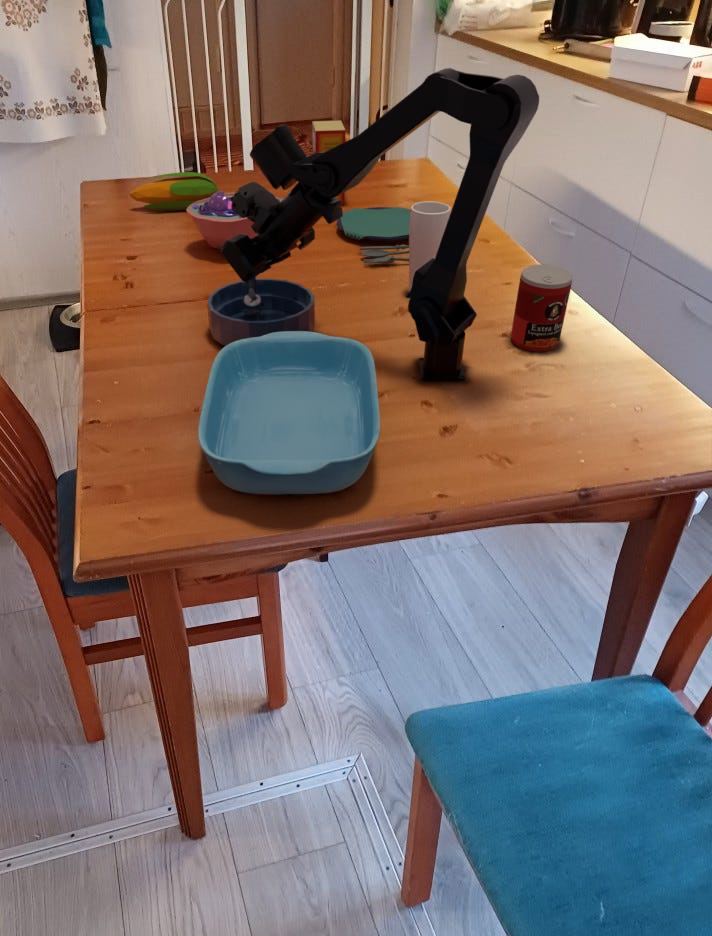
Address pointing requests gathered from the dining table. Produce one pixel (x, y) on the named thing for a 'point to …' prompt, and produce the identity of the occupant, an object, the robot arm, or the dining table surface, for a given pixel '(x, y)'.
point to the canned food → (540, 307)
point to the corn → (175, 191)
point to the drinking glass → (425, 233)
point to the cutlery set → (377, 230)
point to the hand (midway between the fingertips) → (242, 272)
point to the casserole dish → (290, 413)
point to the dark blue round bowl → (281, 311)
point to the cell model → (219, 219)
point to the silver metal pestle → (252, 300)
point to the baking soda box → (328, 139)
